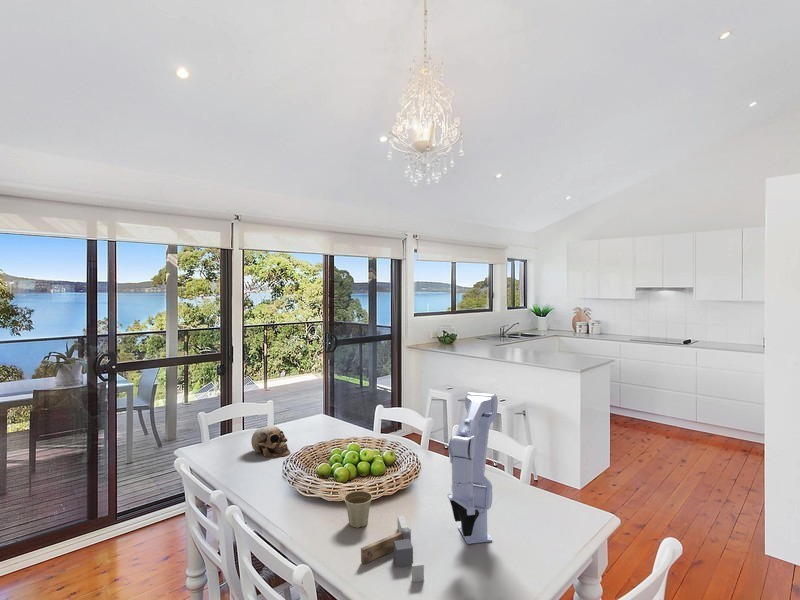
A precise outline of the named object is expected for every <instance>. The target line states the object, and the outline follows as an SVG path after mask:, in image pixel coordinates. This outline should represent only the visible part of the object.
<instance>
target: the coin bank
mask: <svg viewBox="0 0 800 600" xmlns="http://www.w3.org/2000/svg"><path fill="white" fill-rule="evenodd" d="M287 442H288V438H286V436H285V433H284V432H283V430H281V429H280V428H279V427H278V426H275V425H266V426H263V427H260V428H258V429H256V430H255V431H254V432H253V433H252V436H251V446H252V447H251V448H252V450H254V451H255V452H257V453H258V454H259V453H261V454H262V455H263V456H265V458H283V457H287V456H290V454H291V451H290V450H289V448H288V443H287ZM261 454H260V455H261ZM282 456H283V457H282Z"/></svg>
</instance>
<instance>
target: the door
mask: <svg viewBox="0 0 800 600" xmlns="http://www.w3.org/2000/svg"><path fill="white" fill-rule="evenodd" d="M397 540H402V533H401V532H399V531H398V532H396V533H393V534H391V535H389V536H386V537H385V538H384V537H383V538H382V539H379V540H376V541H374V542H372V543H369V544H368V545H365V546H363V547H361V548H360V562H361V564H362V565H365V564H367V563H370V562H372V561H374V560H376V559H378V558H381V557H382V556H385V555H387V554H390V553H392V552H394V541H397Z"/></svg>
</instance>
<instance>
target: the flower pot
mask: <svg viewBox="0 0 800 600" xmlns="http://www.w3.org/2000/svg"><path fill="white" fill-rule="evenodd" d="M373 498H374V497H373V494H372V493H371V492H369V491H366V490H354V491H353V490H352V491H350V492H348V493H346V494H345V495H344V497H343V500H344V502H345V505H346V510H347V518H348V524H349V526H350V527H353V528H361V527H365V526H367V524H368V523H369V516H370V515H369V514H370V506H371V503H372V500H373Z"/></svg>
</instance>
